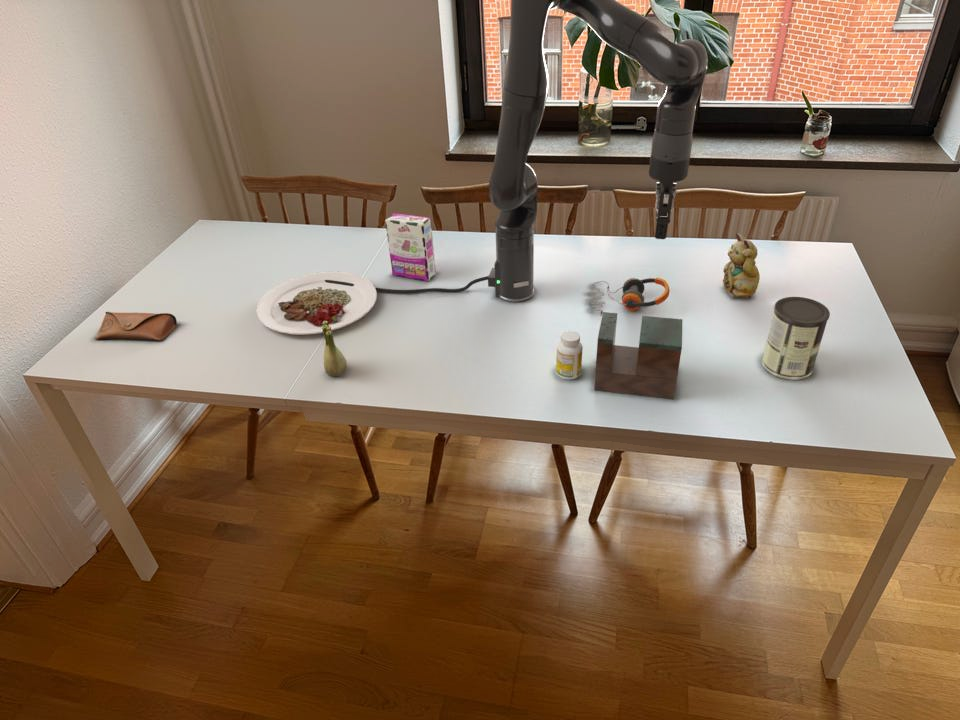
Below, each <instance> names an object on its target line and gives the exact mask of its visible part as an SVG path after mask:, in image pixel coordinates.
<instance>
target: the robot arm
mask: <svg viewBox="0 0 960 720" xmlns="http://www.w3.org/2000/svg"><path fill="white" fill-rule="evenodd" d="M554 9H556V10H560V11H563V12H566V13H568V14H570V15H573V16H575V17H577V18H578V19H580V20H581V21H583V22H584V23H585V24H587V26H589V27H590V28H591V30H593V31H594V33H595V34H596V35H597V37H599V38H600V39H601V40H602V42H604V43H605V44H606V45H608V46H609V47H611V48H612V49H613V50H615V51H616V52H619V53H621V55H622V54H623V55H624V56H626V57H627V58H630V59H631V60H633V61H635V62H637V64H639V66H640V67H641V68H642V69H643V70H644V71H645V72H646V73H648V74H649V76H651V77H652V78H654V79H655V80H656V81H657V82H658V83H660V84H662V85H664V86H666V88H665V89H666V90H665V93H664V94H663V97H662V98H661V99H660V100H659V102H658V105H657V108H656V109H657V110H656V116H655V126H654V132H653V136H652V141H651V148H650V157H649V166H648V176H649V178H651V179H652V180H654V181H658V182H656V185H655V195H654V196H655V206H654V207H655V208H654V209H655V211H656V213H655V222H656V224H655V225H656V226H655V232H654V238H655V239H656V240H666V239H667V236H668V235H667V233H668V228H669V227H668V226H669V224H670V223H671V213H672V211H673V210H674V203H675V198H676V195H677V182H678V183H679V182H682V181H684V180H685V179H686V178H687V177H688V174H689V168H690V162H691V153H692V147H693V132H694V131H693V130H694V125H695V118H696V108H697V104H698V100H699V97H700V95H701V91H702V89H703V86H704V82H705V78H706V74H707V70H708V63H709V62H708V61H709V58H708V52H707V49H706V47H705V45H704V44H703V43H702V42H701V41H699V40H697V39H694V38H687V39H685V40H682V41H680V42H677V43H676V42H673V41H671V39H669V38H667V37H666V36H664V35H663V30H662V28H661V27H660V26H659V24H658V23H656V22H654V21H653V20H652V19H651V20H650V19H649V18H648V17H646V16H644V15H642V14H641V13H639V12H637V11H635V10H633V9H631V8H629V7H627V6H626V5H624V4H622V3H620V2H619V1H617V0H510V30H509V41H508V42H509V43H508V49H507V50H508V51H507V59H506V68H505V69H506V70H505V77H504V81H503V90H502V97H501V98H502V99H501V107H500V108H501V109H500V118H499V127H498V134H497V143H496V151H495V155H494V158H493V159H494V160H493V163H492V169H491V173H490V177H489V181H488V195H489V199H490V201H491V203H492V205H493V206H494V207H495V209H497V210H499V213H498V215H497V217H496V219H495V223H494V230H495V256H496V257H495V258H496V260H495V261H494V265H493V267H492V268H491V270H490V272H489V274H488V275H486V276H481V277H479V278H476V279H473V280H471V281H470V282H468V283H467V284H466V285H464V286H463V287H460V288H443V287H431V288H430V287H429V288H417V289H393V288H392V289H391V288H381V287H375V289H376V292H379V293H380V292H381V293H388V294H389V293H391V294H418V293H430V292H435V293H436V292H438V293H439V292H440V293H461V292H464V291H466V290H468V289H469V288H471V286H473V285H474V284H477V283H480V282H484V281H487V287H489V288H494V289H495V290H494V291H495V292H494V293H495V298H500V299H501V300H503V301H505V302H510V303H518V302H519V303H520V302H524V301H527V300H529V299H531V298H533V296H534V294H535V289H534V287H535V284H534V273H535V271H534V269H535V268H534V266H535V265H534V260H535V259H534V255H535V254H534V251H535V250H534V242H535V241H534V238H535V237H534V236H535V234H534V233H535V232H534V227H535V222H536V219H537V215H538V200H539V199H538V196H539V183H538V177H537V175H536V172H535V170H534V169H533V168H532V167H531V166H530V165H529V164H528V163H527V159H528V156H529V151H530V149H531V146H532V144H533V142H534V140H535V137H536V135H537V133H538V131H539V128H540V125H541V123H542V120H543V117H544V113H545V110H546V109H545V108H546V104H547V97H548V92H549V73H548V68H547V64H546V59H545V54H544V35H545V30H546V29H545V28H546V23H547V19H548V15H549V11H552V10H554ZM325 282H327V283H333V284H341V285H347V286H354V284H352V283H347V282H341V281H333V280H325Z"/></svg>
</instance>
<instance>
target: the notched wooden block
mask: <svg viewBox="0 0 960 720" xmlns="http://www.w3.org/2000/svg"><path fill="white" fill-rule="evenodd" d="M602 313H603V314H602V316H601V319H600V325H599V329H598V335H597V342H596V358H595V370H594V371H595V374H594V388H593V389H594V391H599V392H606V393H607V392H608V393H616V394H625V395H631V396H632V395H633V396H640V397H641V396H642V397H649V398H657V399H658V398H659V399H666V400H667V399H668V400H674V399H675V393H676V388H677V382H678V381H677V380H678V374H679V369H680V362H681V356H682V350H683V318H673V317H663V316H651V315H642V316H641V324H640V332H639V341H638V346H627V345H618V344H616V334H617V324H618V312H609V311H608V312H607V311H603V312H602Z"/></svg>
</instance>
